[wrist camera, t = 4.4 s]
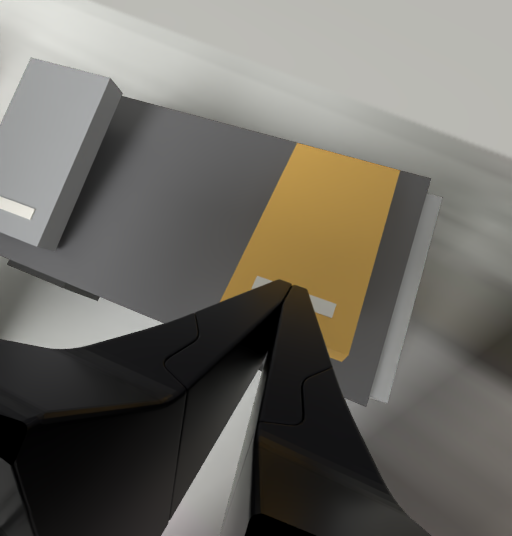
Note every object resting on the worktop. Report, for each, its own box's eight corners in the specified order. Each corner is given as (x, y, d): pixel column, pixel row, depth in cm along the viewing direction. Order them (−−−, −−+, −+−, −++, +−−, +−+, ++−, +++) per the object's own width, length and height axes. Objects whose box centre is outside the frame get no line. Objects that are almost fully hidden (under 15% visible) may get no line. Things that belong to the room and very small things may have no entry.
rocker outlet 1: (55, 251, 15) (35, 246, 14) (-20, 221, 16) (-44, 215, 14) (122, 93, 15) (109, 76, 14) (47, 73, 16) (29, 56, 15)
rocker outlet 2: (341, 361, 11) (348, 355, 10) (221, 314, 12) (218, 304, 11) (391, 187, 14) (400, 169, 13) (295, 160, 15) (297, 141, 14)
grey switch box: (351, 406, 18) (386, 424, 12) (31, 272, 22) (-69, 233, 16) (400, 240, 20) (449, 183, 14) (105, 149, 25) (44, 75, 18)
